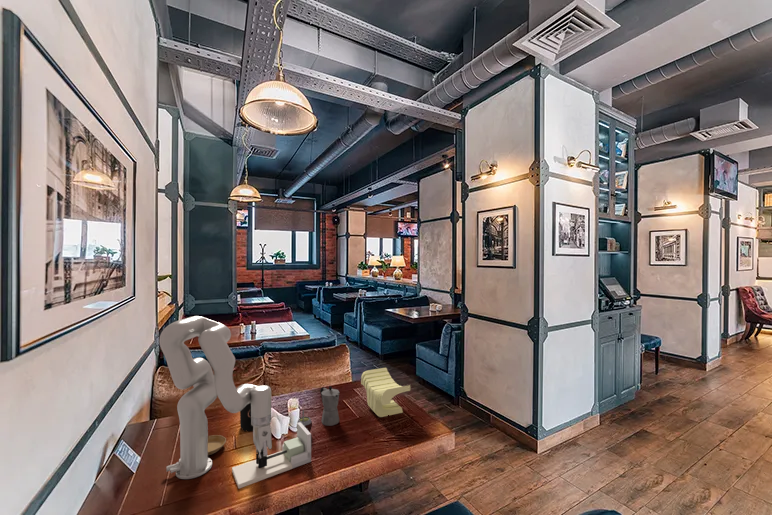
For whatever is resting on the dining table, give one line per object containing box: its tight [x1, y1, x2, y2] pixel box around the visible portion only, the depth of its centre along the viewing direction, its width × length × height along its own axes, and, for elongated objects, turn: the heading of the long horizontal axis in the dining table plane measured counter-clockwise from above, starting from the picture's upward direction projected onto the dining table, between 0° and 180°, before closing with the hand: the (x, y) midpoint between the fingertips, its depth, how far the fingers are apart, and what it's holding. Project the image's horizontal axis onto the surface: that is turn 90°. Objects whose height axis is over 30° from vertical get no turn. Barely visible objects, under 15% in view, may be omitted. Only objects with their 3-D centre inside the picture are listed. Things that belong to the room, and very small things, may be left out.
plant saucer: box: [208, 434, 227, 456], centre depth 147 cm, size 15×15×3 cm
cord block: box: [258, 436, 304, 462], centre depth 138 cm, size 17×7×5 cm, turn 125°
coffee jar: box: [239, 403, 253, 432], centre depth 167 cm, size 11×11×18 cm
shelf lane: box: [231, 422, 312, 489], centre depth 136 cm, size 28×12×12 cm, turn 125°
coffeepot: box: [319, 386, 340, 427], centre depth 173 cm, size 15×9×18 cm, turn 44°
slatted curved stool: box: [360, 367, 411, 418], centre depth 185 cm, size 30×16×18 cm, turn 25°
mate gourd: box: [296, 409, 313, 433], centre depth 158 cm, size 8×8×15 cm
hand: (261, 464), depth 133 cm, fingers closed on cord block, 2 cm apart
